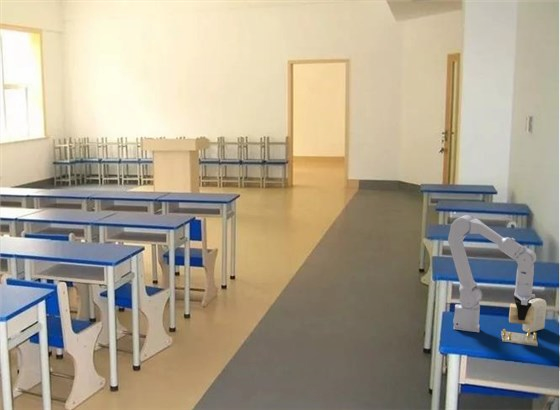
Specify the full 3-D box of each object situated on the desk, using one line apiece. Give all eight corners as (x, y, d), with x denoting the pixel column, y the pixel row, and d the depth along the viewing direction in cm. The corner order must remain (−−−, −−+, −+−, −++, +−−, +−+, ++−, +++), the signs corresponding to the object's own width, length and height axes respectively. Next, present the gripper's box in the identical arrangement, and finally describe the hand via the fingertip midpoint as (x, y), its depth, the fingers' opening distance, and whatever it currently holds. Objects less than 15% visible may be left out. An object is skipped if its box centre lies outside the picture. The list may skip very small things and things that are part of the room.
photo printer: (536, 325, 234) (539, 295, 232) (545, 328, 230) (549, 298, 228) (520, 330, 228) (523, 299, 226) (530, 333, 224) (533, 302, 222)
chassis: (502, 341, 216) (502, 333, 216) (501, 332, 225) (502, 324, 224) (537, 346, 213) (538, 337, 212) (535, 337, 221) (536, 329, 221)
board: (509, 322, 217) (510, 306, 216) (508, 318, 221) (510, 303, 220) (532, 325, 214) (534, 309, 214) (531, 321, 218) (533, 306, 217)
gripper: (538, 289, 207) (534, 325, 209) (534, 278, 221) (530, 312, 223) (516, 286, 209) (513, 323, 211) (514, 276, 223) (511, 310, 225)
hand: (520, 317), depth 217 cm, fingers closed on board, 4 cm apart
